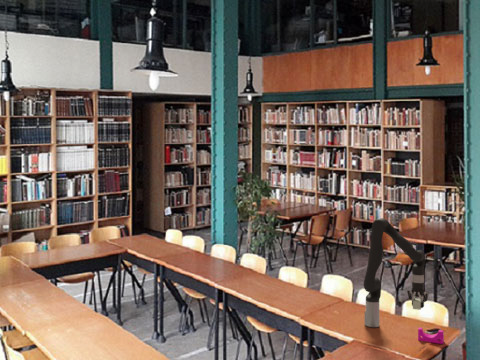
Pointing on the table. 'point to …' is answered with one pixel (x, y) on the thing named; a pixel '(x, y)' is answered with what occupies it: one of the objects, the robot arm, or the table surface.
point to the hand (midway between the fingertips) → (417, 306)
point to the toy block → (431, 336)
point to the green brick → (417, 304)
